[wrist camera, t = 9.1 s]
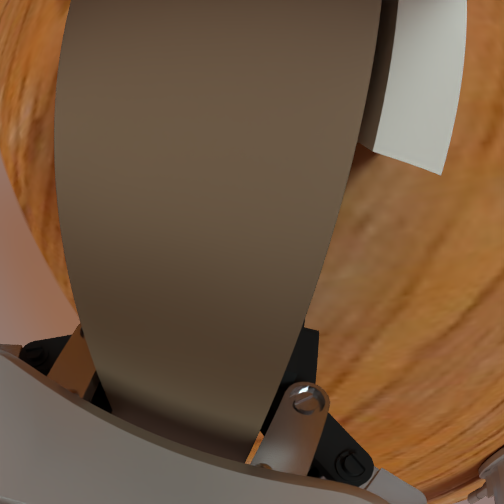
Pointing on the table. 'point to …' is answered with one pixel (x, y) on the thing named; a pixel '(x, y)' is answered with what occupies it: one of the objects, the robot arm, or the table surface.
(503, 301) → the table surface
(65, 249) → the rail
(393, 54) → the white forked bracket
